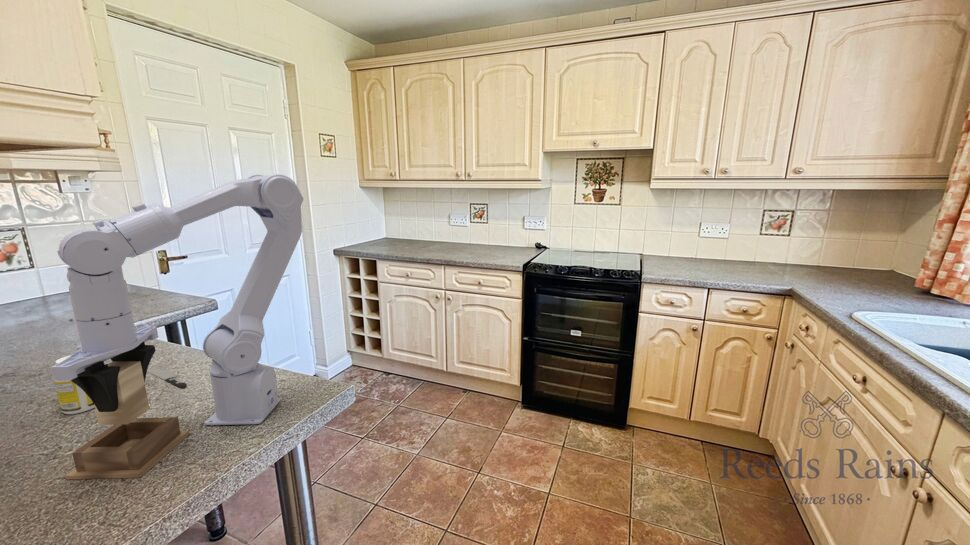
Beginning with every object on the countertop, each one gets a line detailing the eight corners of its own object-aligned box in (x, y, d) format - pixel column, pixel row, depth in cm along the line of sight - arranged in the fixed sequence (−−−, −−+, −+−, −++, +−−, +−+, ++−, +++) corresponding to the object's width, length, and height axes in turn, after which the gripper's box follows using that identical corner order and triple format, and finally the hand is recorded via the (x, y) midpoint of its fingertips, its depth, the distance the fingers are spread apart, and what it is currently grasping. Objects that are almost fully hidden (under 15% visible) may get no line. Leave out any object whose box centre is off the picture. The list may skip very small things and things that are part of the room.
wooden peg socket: (189, 433, 64) (186, 414, 64) (140, 477, 55) (136, 455, 54) (126, 435, 64) (122, 415, 63) (65, 479, 54) (60, 457, 53)
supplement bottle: (100, 396, 75) (90, 349, 73) (105, 406, 72) (94, 357, 70) (60, 407, 71) (48, 358, 69) (62, 418, 68) (50, 367, 66)
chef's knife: (155, 365, 90) (139, 369, 87) (154, 360, 90) (138, 364, 87) (198, 385, 81) (181, 390, 78) (197, 379, 81) (181, 385, 78)
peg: (149, 408, 60) (140, 361, 58) (127, 424, 56) (117, 373, 54) (122, 409, 60) (112, 361, 58) (98, 424, 56) (87, 373, 54)
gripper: (119, 300, 61) (134, 378, 64) (16, 333, 47) (41, 432, 50) (165, 300, 62) (178, 378, 65) (77, 333, 48) (99, 431, 50)
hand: (122, 402), depth 57 cm, fingers closed on peg, 4 cm apart
